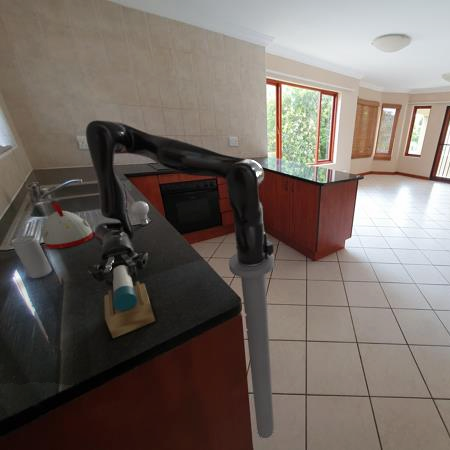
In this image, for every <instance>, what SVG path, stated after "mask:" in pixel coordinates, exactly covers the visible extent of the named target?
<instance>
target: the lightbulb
mask: <svg viewBox="0 0 450 450" xmlns="http://www.w3.org/2000/svg"><path fill="white" fill-rule="evenodd" d="M149 211H150V207H149V205H148V204H147V202H145V201H143V200H137V201H135V202H134V203H133V204H132V205H131V212H132V214H134V215H135V216H136V217H137V218H138V219H139V221H140V225H141V226H146V225H148V224H149V222H148V213H149Z"/></svg>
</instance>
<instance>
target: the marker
mask: <svg viewBox="0 0 450 450" xmlns="http://www.w3.org/2000/svg"><path fill="white" fill-rule="evenodd" d="M112 275H113V286H112V288H113V292H112V293H113V305H114V308H115V309H117V310H120V311H124V310H128V309H130V308H132V307H133V306H134V305H135V304H136V302H137V298H136V293H135V290H134V288H133V286H134V284H133V280H132V279H131V276H130V273H129V268H128V267H127V266H124V265H120V266H117V267H116V268H114V269H113V272H112Z"/></svg>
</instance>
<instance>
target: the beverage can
mask: <svg viewBox="0 0 450 450" xmlns="http://www.w3.org/2000/svg"><path fill="white" fill-rule="evenodd" d="M11 246H12V247H13V250H14V251H15V253H16V254H17V257H18V258H19V260H20V261H21V263H22V265H23V267H24V269H25V271H26V273H27V275H28V276H29V277H30V278H31V279H40V278H43V277H46V276H47V275H49V274H51V272H52V270H53V269H52V267H51V264H50V263H49V261H48V258H47V257H46V255H45V254H46V253H45V252H44V251H43V249H42V245H41V244H40V242H39V240H38V238H37V237H36V236H35V235H24V236H19V237H17V238H14V239H13V240H11Z"/></svg>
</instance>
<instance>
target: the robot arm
mask: <svg viewBox="0 0 450 450" xmlns="http://www.w3.org/2000/svg"><path fill="white" fill-rule="evenodd" d="M85 138H86V144H87V148H88V151H89V155H90V159H91V162H92V163H91V164H92V166H93V169H94V173H95V177H96V181H97V186H98V192H99V193H98V194H99V205H100V206H99V209H100V214H101V215H102V217H104V218H106V219H112V220H117V221H110V222H108V221H106V222H101V223H99V224H97V225H96V227H95V229H94V236H95V239H96V241H97V242H98V243H99V244H100V245H101V247H100V248H101V251H100V253H101V255H100V256H101V261H100V262H99V263H98V264H97V265H93V264H90V265H87V266H86V269H87V272H88V275H89V276H90V277H91V278H93V279H94V280H96V281H97V282H99V283H101V282H103V281H105V284H106V285H107V286H110V287H113V275H112V272H113V269H114V268H116V267H117V266H120V265H124V266H127V267H128V268H129V273H130V276H131V279H132V281H133V280H135V278H136V277H138V272H137V271H138V270H141V271H142V270H143V269H145V267H146V265H147V263H148V262H149V259H150V258H149V257H150V256H149V253H148V251H147V250H143V251H142V252H141V253H139V254H138V253H136V252H135V247H134V246H133V243H132V242H131V240H132V239H133V238H134V237H135V230H134V226H133V225H132V222H131V220H130V217H129V211H128V194H127V190H126V188H125V185H124V184H123V182H122V181H121V179H120V178H119V176H118V174H117V172H116V168H115V155H119V154H120V155H121V154H122V155H123V154H127V155H128V154H130V155H135V156H141V157H145V158H149V159H150V160H152V161H154V162H155V163H156V164H158V165H159V166H160V167H163V168H164V169H167V170H169V171H173V172H176V173H180V174H184V175H189V176H197V177H215V178H221V179H224V180H225V182H226V190H227V191H226V192H227V197H228V203H229V206H230V208H231V209H232V216H233V225H234V236H235V243H236V244H235V245H236V246H235V249H236V253H237V254H238V263H239V264H240V265H242V266H246V267H253V266H258V265H260V264H262V263H263V262H264V261H265V260H266V259H268V255H270V256H271V254H273V253H274V243H272V242H271V241H269V240H268V235H267V233H266V232H265V225H264V210H263V209H264V207H263V204H262V202H261V201H260V198H259V196H260V195H259V187H260V186H261V184H262V183H263V182H264V179H265V172H264V169H263V167H262V166H261V164H260V163H258V162H257V161H255V160H252V159H250V158H243V157H237V156H232V155H227V154H223V153H219V152H216V151H214V150H211V149H209V148H205V147H202V146H198V145H196V144H193V143H189V142H186V141H182V140H179V139H175V138H171V137H166V136H161V135H156V134H151V133H148V132H146V131H142V130H140V129H137V128H135V127H133V126H130V125H128V124H126V123H122V122H118V121H110V120H99V119H98V120H92V121H90V122H89V123H88V124H87V125H86V130H85ZM101 270H102V271H101Z"/></svg>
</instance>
